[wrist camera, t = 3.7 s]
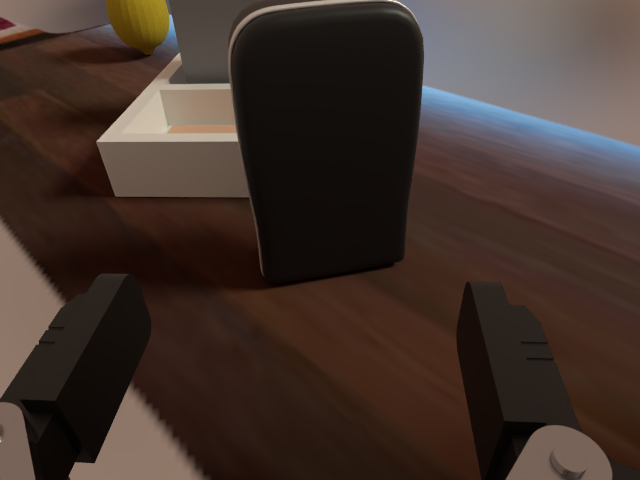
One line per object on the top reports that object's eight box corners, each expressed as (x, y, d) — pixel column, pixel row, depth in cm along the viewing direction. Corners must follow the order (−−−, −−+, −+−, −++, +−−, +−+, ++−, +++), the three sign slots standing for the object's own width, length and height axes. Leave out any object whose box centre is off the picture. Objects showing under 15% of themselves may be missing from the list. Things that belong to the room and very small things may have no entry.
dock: (326, 94, 40) (321, -48, 33) (310, 197, 28) (298, 6, 22) (188, 95, 41) (159, -43, 34) (115, 196, 29) (50, 12, 22)
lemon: (165, 43, 53) (146, -42, 48) (184, 55, 49) (166, -36, 44) (113, 54, 50) (88, -35, 46) (130, 67, 47) (104, -27, 42)
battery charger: (384, 219, 26) (397, -24, 19) (410, 265, 23) (437, -3, 16) (252, 240, 25) (213, -8, 18) (261, 291, 22) (219, 18, 15)
